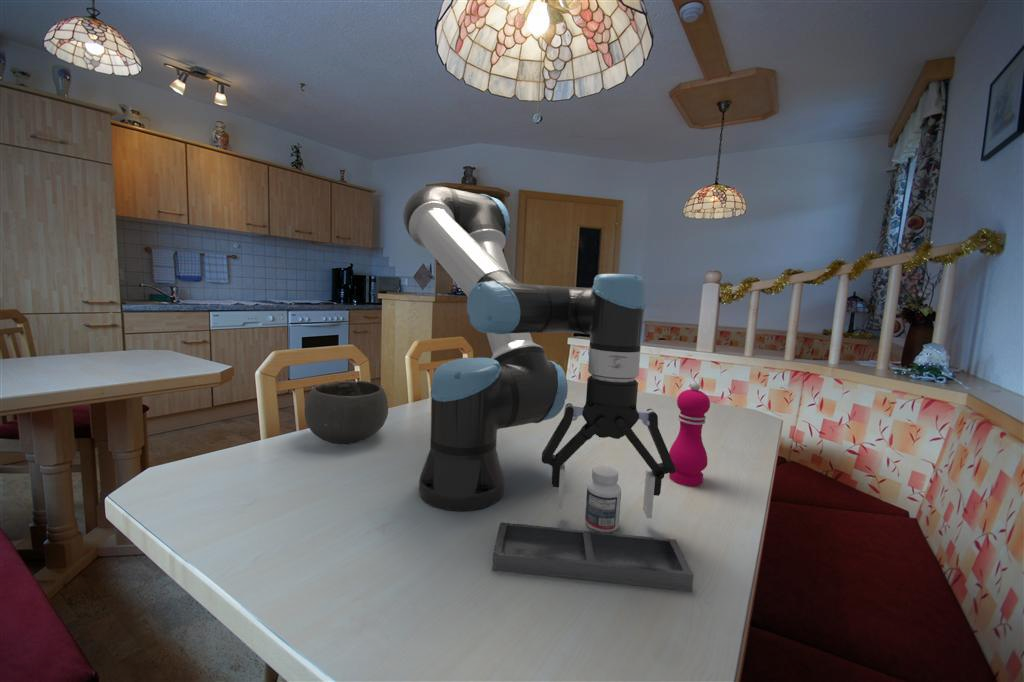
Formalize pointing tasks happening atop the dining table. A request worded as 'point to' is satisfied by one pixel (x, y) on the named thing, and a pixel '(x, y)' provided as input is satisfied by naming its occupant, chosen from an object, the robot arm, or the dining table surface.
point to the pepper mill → (690, 438)
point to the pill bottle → (603, 500)
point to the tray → (591, 556)
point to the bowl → (346, 411)
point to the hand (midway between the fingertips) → (603, 509)
